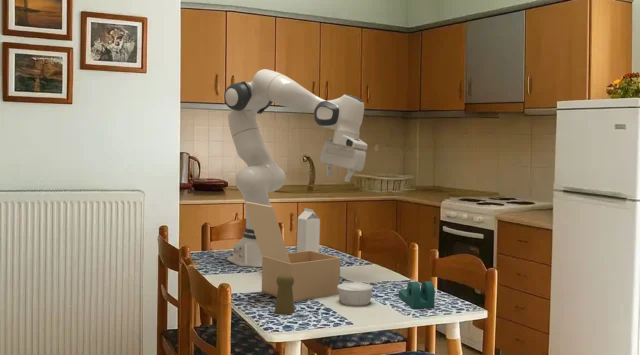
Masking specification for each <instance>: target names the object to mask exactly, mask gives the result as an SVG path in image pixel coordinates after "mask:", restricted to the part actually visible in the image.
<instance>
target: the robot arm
mask: <svg viewBox="0 0 640 355" xmlns="http://www.w3.org/2000/svg"><path fill="white" fill-rule="evenodd" d="M252 78H253V79H252V80H251V81H246V80H245V81H241V82H236V83H235V82H234V83H232V84H230V85H229V86H227V87H226V88H225V92H224V97H223V98H224V103H225V105H226V106H227V108H228V109H230V111H229V112H228V114H227V121H228V127H229V131H230V136H231V137H232V140H233V145H234V147H235V150H236V153H237V155H238V157H239V158H240V159H241V160H242V161H243V162H244V163H245V164H246V167H244V168H242V169H240V170H239V171H238V172H237V174H236V175H235V179H234V180H235V186H236V188H237V190H238V191H240V193H241V194H242V197H243V201H244V203H245V202H251V203H257V204H262V205H268V206H273V205H272V204H271V201H270V198H269V193H274V192H275V191H278V190H280V189H281V188H282V187H284V185H285V184H286V174H285V172H284V170H283V168H282V167H280V166H279V165H277V164H276V162H275V161H274V159H273V158H272V156H271V155H270V153H269V151H268V149H267V147H266V145H265V143H264V140H263V138H262V134H261V131H260V129H259V125H258V123H257V118H256V115H257V114H259V115H261V114H263V113H264V112H265V111H266V110H267V109H268V108H269V107H270V106H272V104H273V103H274V104H276V105H278V106H282V107H285V108H291V109H299V110H304V111H307V112H310V113H313V118H314V119H313V120H314V121H315V123H316V124H317V125H318V126H320V127H323V128H326V129H330V130H334V134H333V138H331V137H329V138H327V139H326V140H325V142H324V144H323V147H322V149H321V153H320V157H319V160H320V163H324V164H325V168H326V177H327V178H333V177H334V172H333V168H334V166H336V167H340V168H344V169H347V174H346V175H344V176H343V182H345V183H350V182H351V178H352V176H353V175H354V174H355V171H359V172H362V171H363V170H364V168H365V163H366V156H367V153H366V151H367V150H368V144H367V143H366V142H364V141H363V140H362V139H361V138H360V135H361V134H360V129H361V125H362V123H363V118H364V113H365V102H364V100H363V99H362V98H360V97H358V96H354V95H351V94H348V93H347V94H343V95H342V96H340V97H338V98H335V99H330V100H326V99H324V98H321V97H320V96H317V95H316V94H314V93H312V91H309V90H308V89H306V87H304V86H302V85H301V84H299V83H298V82H297V81H295V80H293V79H292V78H290V77H289V76H287V75H285V74H283V73H280V72H278V71H275V70H272V69H268V68H267V69H266V68H264V69H259V70H258V71H257V72H256V73H255V74H254V76H253V77H252ZM244 205H245V204H244ZM245 221H246V222H245V223H246V224H245V228H243V229H242V232H243V235H242V238H241V239H240V240H238V242H237V243H235V244H234V246H233V252H232V253H233V254H232V255H231V256H228V257H227V258H226V261H228V262H231V263H233V264H235V265H237V266H239V267H255V268H258V267H259V268H262V255H261V252H260V249H259V246H258V242H257V239H256V236H255V233H254V230H253V227H252V224H251V221H250V218H249V215H248V211H247V208H246V205H245Z"/></svg>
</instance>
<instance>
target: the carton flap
mask: <svg viewBox="0 0 640 355" xmlns="http://www.w3.org/2000/svg"><path fill="white" fill-rule="evenodd" d="M244 205H246V206H245V209H246V208H247V211H248V215H249V218H250V221H251V224H252V227H253V230H254V233H255V236H256V239H257V242H258V246H259V249H260V252H261V255H262V256H265V257H269V258H272V259H276V260H280V261H283V262H287V263H290V260H289V256H288V253H289V252H288V250H287V247H286V243H285V240H284V238H283V235H282V234H283V233H282V231H281V228H280V225H279V224H280V223H279V222H278V217H277V214H276V212H275V207H274V206H273V205H272V206H268V205H262V204H257V203H251V202H245V201H244Z"/></svg>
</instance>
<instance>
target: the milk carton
mask: <svg viewBox="0 0 640 355" xmlns="http://www.w3.org/2000/svg"><path fill="white" fill-rule="evenodd" d="M303 210H304V211H302V213H301V214H300V215H299V216H297V226H296V227H297V230H296V231H297V233H296V234H297V235H296V236H297V237H296V244H297V245H296V252H302V251H314V252H318V253H320V236H321V235H320V234H321V232H320V230H321V229H320V228H321V218H320V217H319V216H318V215H317V214H316V212H314V209H310V208H305V207H304V209H303Z"/></svg>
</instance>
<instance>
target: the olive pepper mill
mask: <svg viewBox="0 0 640 355" xmlns="http://www.w3.org/2000/svg"><path fill="white" fill-rule="evenodd" d="M293 284H294V278H293V276H292V275H288V274H283V275H279V276H278V277H277V285H278V292H277V297H275V298H276V299H275V307H274V313H276V314H279V315H291V314H295V313H296V310H295V302H294V299H293V290H292V286H293Z"/></svg>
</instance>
